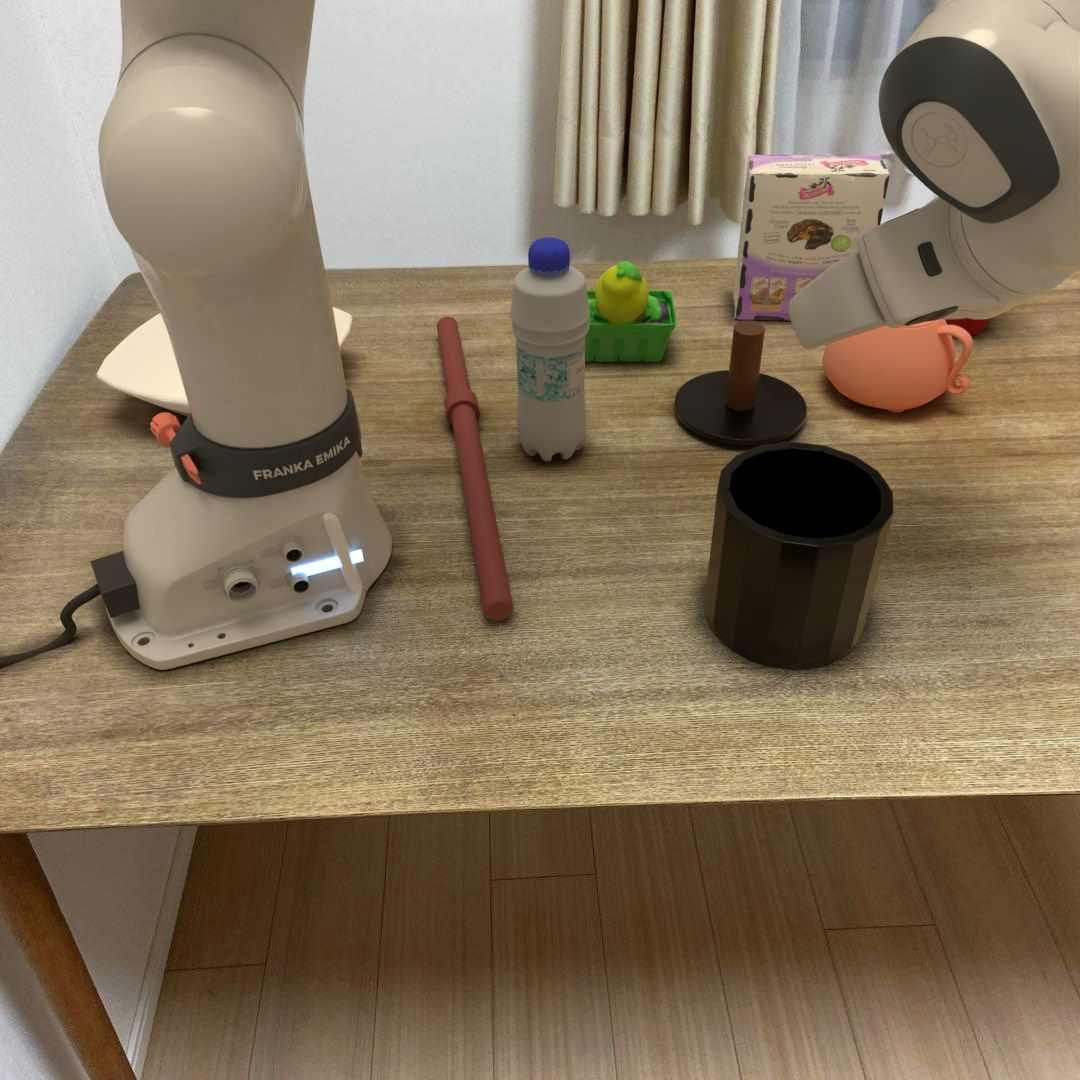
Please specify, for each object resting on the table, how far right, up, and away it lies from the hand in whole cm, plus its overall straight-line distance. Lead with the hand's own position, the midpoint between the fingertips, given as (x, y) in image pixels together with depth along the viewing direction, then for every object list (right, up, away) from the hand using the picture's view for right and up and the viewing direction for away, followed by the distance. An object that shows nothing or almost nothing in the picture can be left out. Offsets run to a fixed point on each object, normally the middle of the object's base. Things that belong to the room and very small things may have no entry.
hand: (858, 320), depth 80 cm
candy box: (+3, +8, +34) cm, 35 cm away
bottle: (-24, -9, +14) cm, 29 cm away
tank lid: (-6, -5, +17) cm, 19 cm away
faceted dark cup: (-7, -23, -4) cm, 24 cm away
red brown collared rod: (-32, -10, +13) cm, 36 cm away
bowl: (-55, -2, +23) cm, 60 cm away
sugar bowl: (+9, -3, +20) cm, 22 cm away
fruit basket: (-17, +2, +27) cm, 32 cm away
